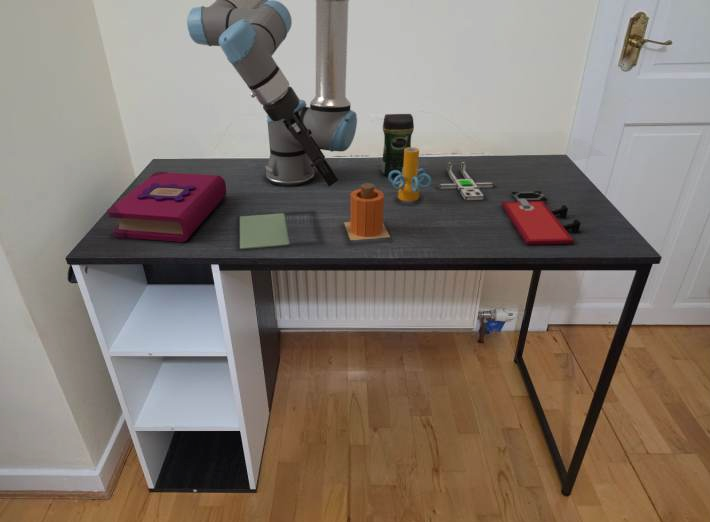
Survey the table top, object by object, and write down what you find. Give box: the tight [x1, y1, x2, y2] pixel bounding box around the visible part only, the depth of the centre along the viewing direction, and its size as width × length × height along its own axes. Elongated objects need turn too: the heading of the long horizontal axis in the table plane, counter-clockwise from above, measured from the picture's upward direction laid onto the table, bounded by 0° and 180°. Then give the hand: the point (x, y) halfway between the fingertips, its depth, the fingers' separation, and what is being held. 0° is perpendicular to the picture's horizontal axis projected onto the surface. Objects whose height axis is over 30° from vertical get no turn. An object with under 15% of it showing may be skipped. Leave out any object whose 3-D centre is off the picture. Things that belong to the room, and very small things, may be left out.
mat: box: [239, 212, 290, 250], centre depth 135 cm, size 18×20×1 cm
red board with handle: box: [501, 190, 581, 246], centre depth 139 cm, size 30×3×15 cm
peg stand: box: [343, 182, 391, 241], centre depth 129 cm, size 10×10×13 cm
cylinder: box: [388, 146, 432, 202], centre depth 146 cm, size 12×10×15 cm
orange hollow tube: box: [349, 188, 385, 237], centre depth 130 cm, size 8×8×10 cm
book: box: [106, 171, 227, 243], centre depth 140 cm, size 21×28×8 cm
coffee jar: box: [380, 113, 415, 177], centre depth 163 cm, size 10×8×19 cm
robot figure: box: [438, 161, 495, 201], centre depth 158 cm, size 16×3×22 cm
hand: (326, 171), depth 123 cm, fingers open, 13 cm apart
